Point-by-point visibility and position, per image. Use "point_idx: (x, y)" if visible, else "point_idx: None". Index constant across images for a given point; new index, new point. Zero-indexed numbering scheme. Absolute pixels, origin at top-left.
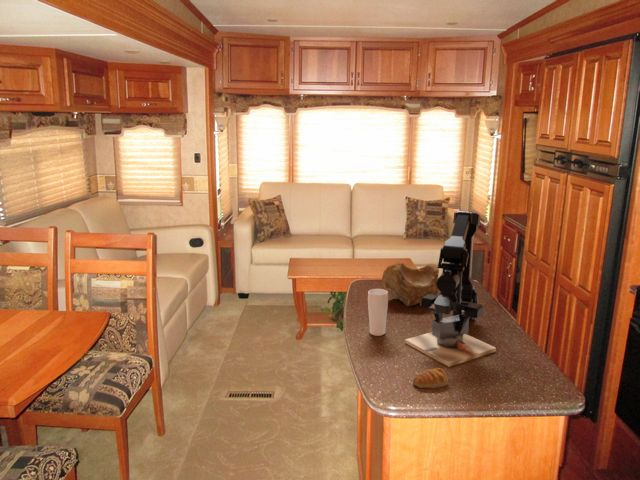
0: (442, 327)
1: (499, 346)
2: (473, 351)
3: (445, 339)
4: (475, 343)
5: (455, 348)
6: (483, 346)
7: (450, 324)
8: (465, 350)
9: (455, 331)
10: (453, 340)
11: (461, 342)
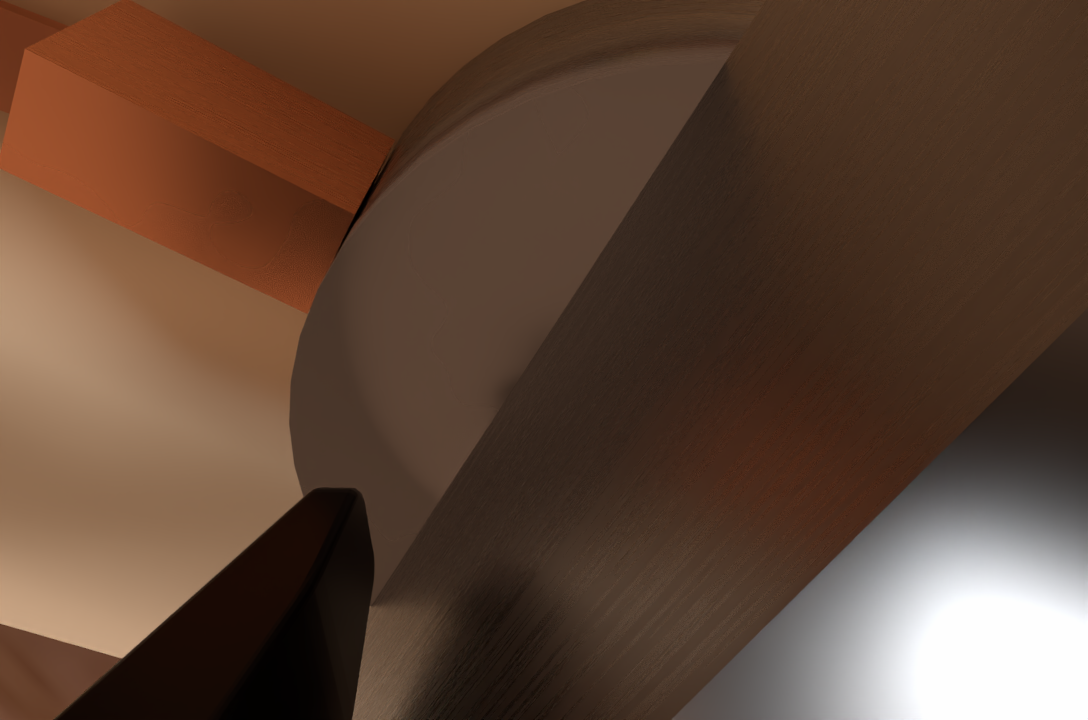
0: (1028, 57)
1: (2, 693)
2: (17, 220)
3: (698, 45)
4: None
5: None
6: (46, 531)
7: (606, 645)
8: None
9: (474, 529)
10: (426, 150)
11: (141, 159)
